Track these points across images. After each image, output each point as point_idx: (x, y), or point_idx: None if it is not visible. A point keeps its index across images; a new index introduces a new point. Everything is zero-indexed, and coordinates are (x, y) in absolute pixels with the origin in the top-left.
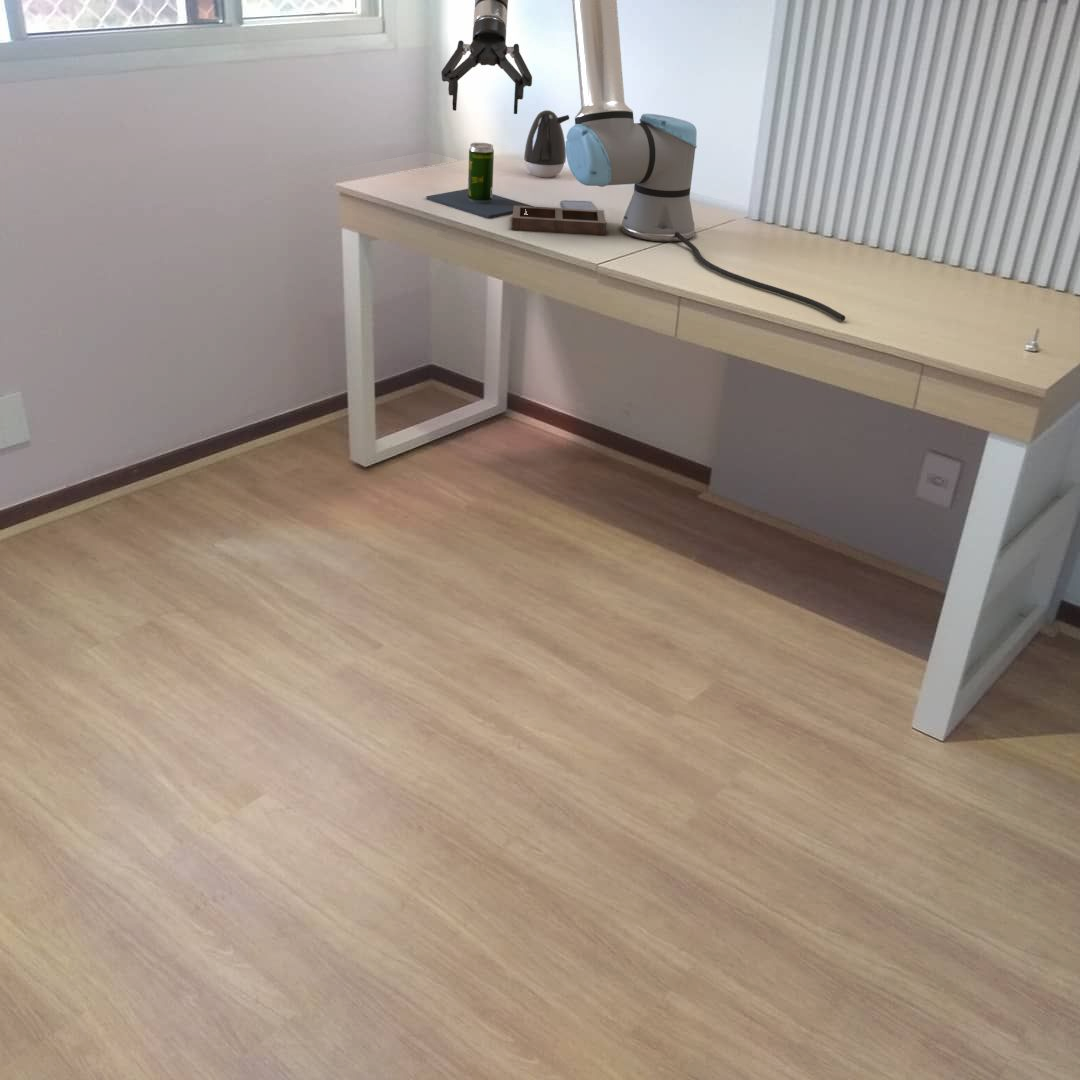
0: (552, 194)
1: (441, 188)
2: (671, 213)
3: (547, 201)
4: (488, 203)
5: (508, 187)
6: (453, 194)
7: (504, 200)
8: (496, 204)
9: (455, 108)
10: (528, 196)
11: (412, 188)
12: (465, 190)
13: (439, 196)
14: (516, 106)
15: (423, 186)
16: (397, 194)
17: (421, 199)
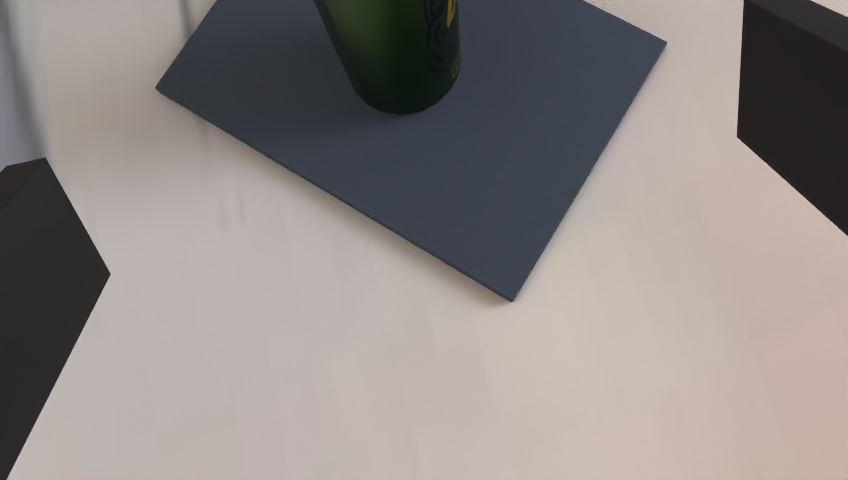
0: (110, 409)
1: (673, 280)
2: None
3: (119, 256)
4: None
5: (350, 462)
6: (557, 129)
7: (300, 127)
8: (320, 43)
9: (745, 98)
10: (219, 313)
11: (810, 214)
12: (527, 233)
13: (607, 63)
14: (17, 166)
15: (776, 281)
16: None
17: (681, 32)
